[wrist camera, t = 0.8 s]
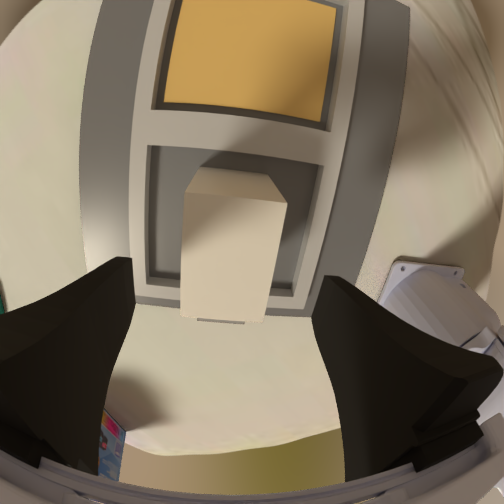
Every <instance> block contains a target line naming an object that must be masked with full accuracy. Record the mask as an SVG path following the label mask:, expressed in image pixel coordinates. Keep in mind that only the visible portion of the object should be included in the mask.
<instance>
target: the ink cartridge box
mask: <svg viewBox="0 0 504 504" xmlns="http://www.w3.org/2000/svg"><path fill="white" fill-rule="evenodd" d="M125 436H126V432H125V431H124V430H123V429H122V428H121V427H120V426H119V425H118V424H117V422H116V421H115V420H114V419H113V418H112V417H111V416H110V415H109V414H108V413H107V411H106V410H105V409H104V410H103V417H102V423H101V432H100V442H99V461H98V477H102V478H106V479H110V480H113V481H119V474H120V467H121V460H122V453H123V447H124V442H125ZM82 497H83V496H82ZM84 498H86V497H84ZM86 499H89V498H86ZM90 500H92V499H90ZM93 501H95V500H93ZM101 503H102V502H101ZM104 504H105V503H104Z"/></svg>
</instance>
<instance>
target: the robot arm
mask: <svg viewBox="0 0 504 504" xmlns="http://www.w3.org/2000/svg"><path fill="white" fill-rule="evenodd" d="M402 266H403V268H402ZM401 268H402V269H401ZM464 273H465V270H464V269H463V268H462V267H453V266H444V265H435V264H426V263H417V262H408V261H395V262H394V263H393V265H392V267H391V270H390V272H389V275H388V277H387V280H386V282H385V285H384V287H383V290H382V292H381V295H380V297H379V299H378V302H376V301H374V300H373V299H371V298H370V297H369V296H367V295H366V294H365V293H363V292H362V291H361V290H359V289H358V288H356V287H355V286H354V285H352V284H351V283H349V282H348V281H346V280H345V279H343V278H341V277H340V276H332V275H324V278H323V281H322V284H321V288H320V291H319V294H318V297H317V300H316V303H315V306H314V310H313V313H312V316H311V319H312V324H313V329H314V334H315V338H316V341H317V344H318V347H319V350H320V353H321V355H322V358H323V361H324V364H325V366H326V369H327V372H328V375H329V378H330V380H331V383H332V387H333V390H334V394H335V398H336V403H337V408H338V413H339V419H340V425H341V431H342V439H343V448H344V461H345V482H344V483H340V484H335V485H330V486H325V487H319V488H313V489H307V490H300V491H292V492H282V493H271V494H254V495H212V494H195V493H182V492H174V491H166V490H159V489H153V488H146V487H141V486H136V485H131V484H126V483H121V482H118V481H113V480H110V479H106V478H102V477H98V461H99V442H100V432H101V423H102V417H103V410H104V404H105V399H106V394H107V390H108V385H109V381H110V377H111V374H112V371H113V368H114V365H115V363H116V360H117V357H118V355H119V352H120V350H121V347H122V345H123V342H124V339H125V337H126V334H127V332H128V329H129V327H130V324H131V320H132V316H133V313H134V309H135V305H136V299H135V289H134V277H133V263H132V258H130V257H121V256H116V257H114V258H112V259H110V260H109V261H107V262H105V263H104V264H102V265H100V266H99V267H97V268H96V269H94V270H92V271H91V272H89V273H87V274H86V275H84V276H83V277H81V278H79V279H78V280H76V281H74V282H72V283H71V284H69V285H67V286H66V287H64V288H62V289H60V290H59V291H57V292H55V293H53V294H51V295H49V296H47V297H45V298H42V299H40V300H38V301H36V302H34V303H31V304H29V305H26V306H23V307H21V308H18V309H15V310H13V311H10V312H7V313H3V314H0V504H100V503H97V502H94V501H91V500H89V499H92V500H95V501H98V502H102V503H105V504H354V503H358V502H361V501H364V500H368V499H371V498H374V497H375V498H374V499H371V500H369V501H366V502H363V503H360V504H476V503H477V502H478V501H479V500H480V499H481V498H483V497H484V496H485V495H486V494H487V493H488V492H489V491H490V490H491V489H492V488H498V490H499V491H500V493H501V494H502V496H503V497H504V326H503V325H502V326H501V324H500V320H499V318H498V316H497V314H496V312H495V311H494V310H493V309H492V308H491V307H490V306H489V305H488V304H487V303H486V302H485V301H484V300H483V299H482V298H481V297H480V296H479V295H478V294H477V293H476V292H475V291H474V290H473V289H472V288H471V287H470V286H469V285H467V284H466V283H465V282H464V281H463V280H462V278H463V275H464ZM82 496H83V497H82ZM84 497H86V498H89V499H86V498H84Z"/></svg>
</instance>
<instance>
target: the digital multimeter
mask: <svg viewBox="0 0 504 504" xmlns="http://www.w3.org/2000/svg"><path fill="white" fill-rule="evenodd" d="M3 313H4V308H3V304H2V299H1V296H0V314H3Z"/></svg>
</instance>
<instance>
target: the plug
mask: <svg viewBox="0 0 504 504" xmlns="http://www.w3.org/2000/svg"><path fill="white" fill-rule="evenodd" d="M287 204H288V203H287V202H286V200H285V199H284V197H283V196H282V194H281V193H280V191H279V190H278V189H277V187H276V186H275V184H274V183H273V181H272V180H271V178H270V177H269V176H268V174H262V173H254V172H246V171H238V170H229V169H220V168H210V167H199V169H198V170H197V172H196V174H195V175H194V177H193V179H192V180H191V182H190V184H189V185H188V187H187V189H186V191H185V194H184V209H183V226H182V247H181V282H180V316H183V317H193V318H197V321H207V322H219V323H233V324H244V323H245V322H260V323H263V320H264V315H265V311H266V306H267V301H268V297H269V292H270V287H271V283H272V278H273V273H274V268H275V264H276V259H277V254H278V249H279V244H280V239H281V234H282V229H283V224H284V219H285V214H286V209H287Z"/></svg>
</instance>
